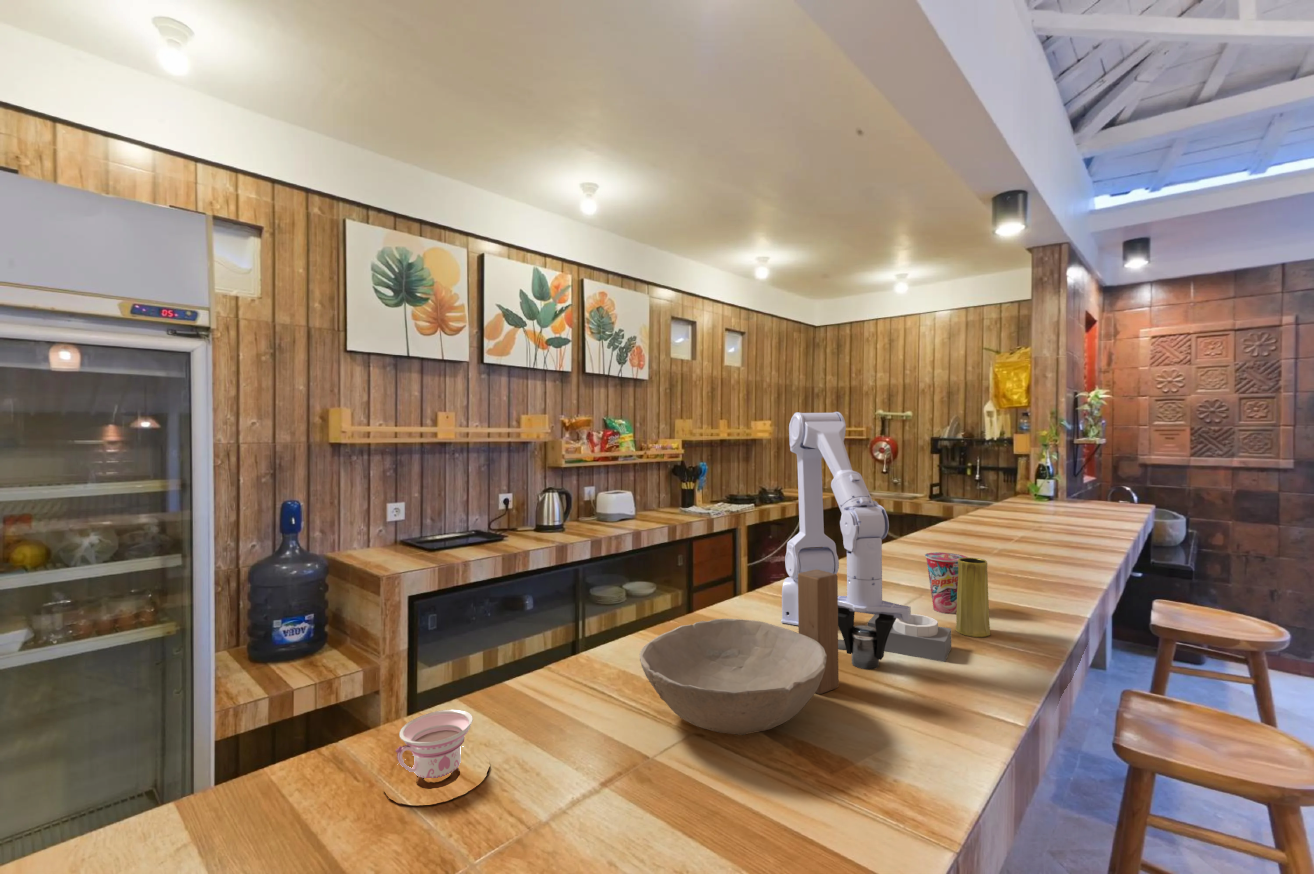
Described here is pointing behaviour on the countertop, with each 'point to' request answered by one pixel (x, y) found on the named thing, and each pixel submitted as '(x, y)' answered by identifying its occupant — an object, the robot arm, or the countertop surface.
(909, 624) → the camera body
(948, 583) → the cup
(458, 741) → the teacup
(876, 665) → the lens
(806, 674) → the bowl
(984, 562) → the vase
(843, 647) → the lens cap
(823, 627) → the wooden block
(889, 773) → the countertop surface
